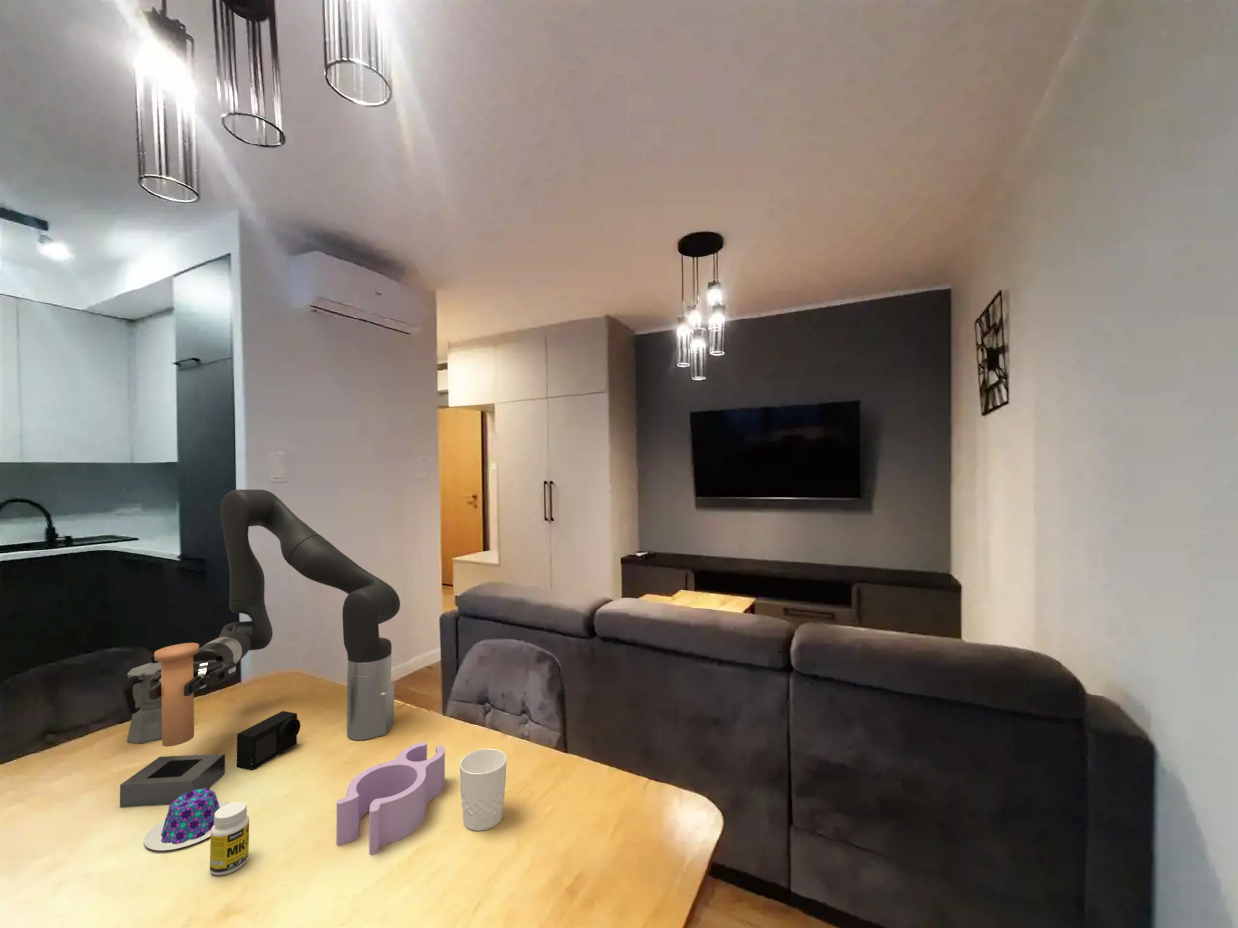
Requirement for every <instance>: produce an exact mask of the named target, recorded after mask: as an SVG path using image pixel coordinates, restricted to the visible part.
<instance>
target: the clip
mask: <svg viewBox="0 0 1238 928" xmlns="http://www.w3.org/2000/svg"><path fill="white" fill-rule="evenodd" d="M445 752H446V748H445V746H444V745H443V744H440V745H437V746H435V754H434V756H432V757H429V758H428V742H426V741H423V742H417V743H414V744H411V745H410V746H408V747H406V748H404V749H402V751H400V752H399V754H398V755H397V757H395V758H393V759H391V760H389V761H387V762H383V763H379V764H377V765H374V766H373V765H372V766H371V767H369V768H367V769H365V770H363V771H361V772H360V773H359V774H356V776H355V777H353V779H351V780H350V782H349V784H348V785H347V787H346V796H345V797H341V798H339V799H337V800H336V830H335V831H336V837H335V838H336V840H335V841H336V842H335V843H336V846H343V845H345V844H348V843H350V842H353V841H355V840H356V839H358V838H359V836H360V834H359V831H360V830H359V828H360V827H359V822H360V819H362V817H363V816H365V815H366V814H367V813H369V821H368V823H369V827H368V829H369V830H368V831H369V834H368V836H369V838H368V842H369V843H368V845H369V846H368V847H369V849H368V850H369V852H368V854H369V855H371V856H373V855H377V854H378V853H379V851H380V847H382V846H385V845H389V844H393V843H395V842H397V841H400V840H401V839H404V838H405V837H407V836H409V835H410V834H412V833H413V832H414V831H416V829H417V828H419V827H420V826H421V824H422V823H423V821H424V819H425V817H426V812H427V811H426V810H427V808H426V807H427V804H428V803H429V802H430V801H431V800H433V799H434V798H436V797H438V796H439V795H440V794H441V793H442V792H443V791H444V789H445V780H446V779H445V777H446V774H445V773H446V769H445V768H446V767H445V766H446V765H445V764H446V762H445V761H446V753H445ZM427 758H428V759H427ZM435 796H436V797H435ZM432 798H433V799H432ZM430 799H431V800H430ZM429 800H430V801H429ZM428 801H429V802H428ZM427 802H428V803H427Z"/></svg>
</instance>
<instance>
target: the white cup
mask: <svg viewBox="0 0 1238 928" xmlns="http://www.w3.org/2000/svg"><path fill="white" fill-rule="evenodd" d="M507 758H508V757H507V755H506V753H505V752H504V751H502V750H500V749H497V748H490V747H489V748H487V747H486V748H480V749H476V750H474V751H471V752H469V753H467V754H466V755H464V756H463V758H461V760H460V762H459V773H460V774H459V777H460V778H459V779H460V798H461V799H460V800H461V808H462V821H463V825H464V826H465V827H466V828H467V829H468V830H471V831H474V832H477V831H487V830H489V829H492V828H494V827H496V825H498V824H499V823H500V822H501V820H502V818H503V817H504V805H505V804H504V801H505V795H506V792H505V791H506V781H507V777H506V775H507Z"/></svg>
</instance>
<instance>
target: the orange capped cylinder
mask: <svg viewBox="0 0 1238 928" xmlns="http://www.w3.org/2000/svg"><path fill="white" fill-rule="evenodd" d="M199 648H200V644H199V643H197V642H196V643H195V642H184V643H178V644H174V645H173V644H172V645H169V646H164V647H161V648H160V649H157V650H155V651H154V654H153V655H154V660H155V661H161V696H162V739H161V745H162V747H174V746H175V747H176V746H178V745H181V744H184V743H187V742H189V741H191V740H193V738H194V737H195V715H194V714H195V708H194V707H195V702H194V699H195V698H194V697H195V696H194V693H195V692H194V693H192V694H191V695H190V696H184V685H185V684H186V683H188V682H189V681H190V680H192V679H193V655H195V654H197V653H198V652H199Z"/></svg>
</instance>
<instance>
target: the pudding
mask: <svg viewBox="0 0 1238 928" xmlns="http://www.w3.org/2000/svg"><path fill="white" fill-rule="evenodd" d="M229 803H230V802H229V801H223V800H221V801H218V797H217V795H216V792H214V790H211V789H210V788H209V789H207V788H204V789H196V790H192V791H190V792H189V793H185V794H183V795H181V796H179V797H178V798H177V799H176V800H174V801H173V802H172V803H171V804H170V805H169V807H168V811H167V813H166V817H165V818H164V819H162V820H161V821H158V823H156V824H155V825H154V826H153V827H152V828H150V829H149V831H148V832H147V833H146V835H145V837H144V840H143V843H144V845H145V846H146V847H147V848H148V849H150V850H152V851H153V850H154V851H170V850H176V849H177V850H178V849H180V848H184V847H189V846H190V845H191V846H192V845H193V844H197V843H198V842H201V841H203V840H206V839H207V838H211V829H212V827H213V826H214V815H215V812H216V811H217V810H218V809H219V808H221V807H223V806H225V805H227V804H229ZM160 838H161V840H160ZM169 843H171V844H169Z"/></svg>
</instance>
